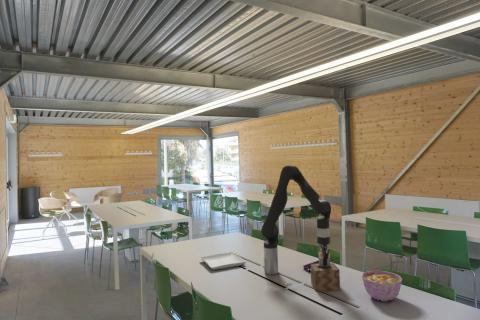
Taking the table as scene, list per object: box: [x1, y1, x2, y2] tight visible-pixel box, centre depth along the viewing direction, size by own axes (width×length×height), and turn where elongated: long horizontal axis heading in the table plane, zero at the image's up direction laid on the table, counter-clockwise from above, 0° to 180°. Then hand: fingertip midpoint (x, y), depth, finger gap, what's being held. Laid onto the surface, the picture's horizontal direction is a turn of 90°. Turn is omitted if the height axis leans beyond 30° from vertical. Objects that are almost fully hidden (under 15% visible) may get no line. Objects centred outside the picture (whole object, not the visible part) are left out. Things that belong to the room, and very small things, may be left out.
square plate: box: [199, 252, 247, 271], centre depth 248 cm, size 27×27×4 cm
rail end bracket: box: [318, 251, 331, 268], centre depth 197 cm, size 6×3×10 cm, turn 90°
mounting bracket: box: [302, 259, 319, 269], centre depth 225 cm, size 9×8×18 cm
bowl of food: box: [361, 270, 403, 302], centre depth 179 cm, size 20×20×12 cm
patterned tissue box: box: [310, 262, 341, 292], centre depth 197 cm, size 14×12×12 cm
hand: (324, 264), depth 197 cm, fingers closed on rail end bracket, 3 cm apart
